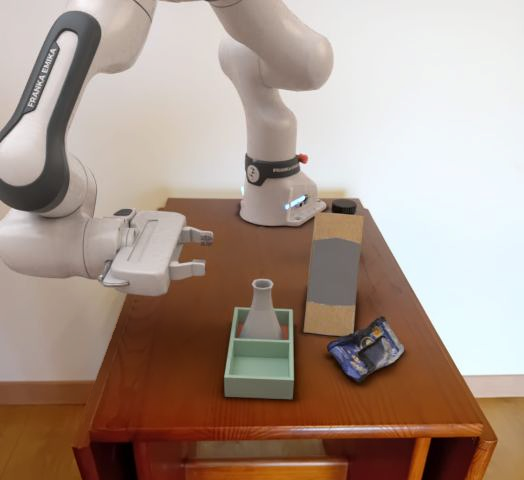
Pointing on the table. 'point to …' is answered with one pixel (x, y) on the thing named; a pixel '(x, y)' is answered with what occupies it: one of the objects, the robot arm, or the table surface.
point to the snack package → (366, 349)
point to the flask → (262, 314)
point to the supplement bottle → (344, 206)
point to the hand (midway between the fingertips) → (209, 252)
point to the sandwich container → (333, 274)
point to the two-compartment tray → (260, 361)
